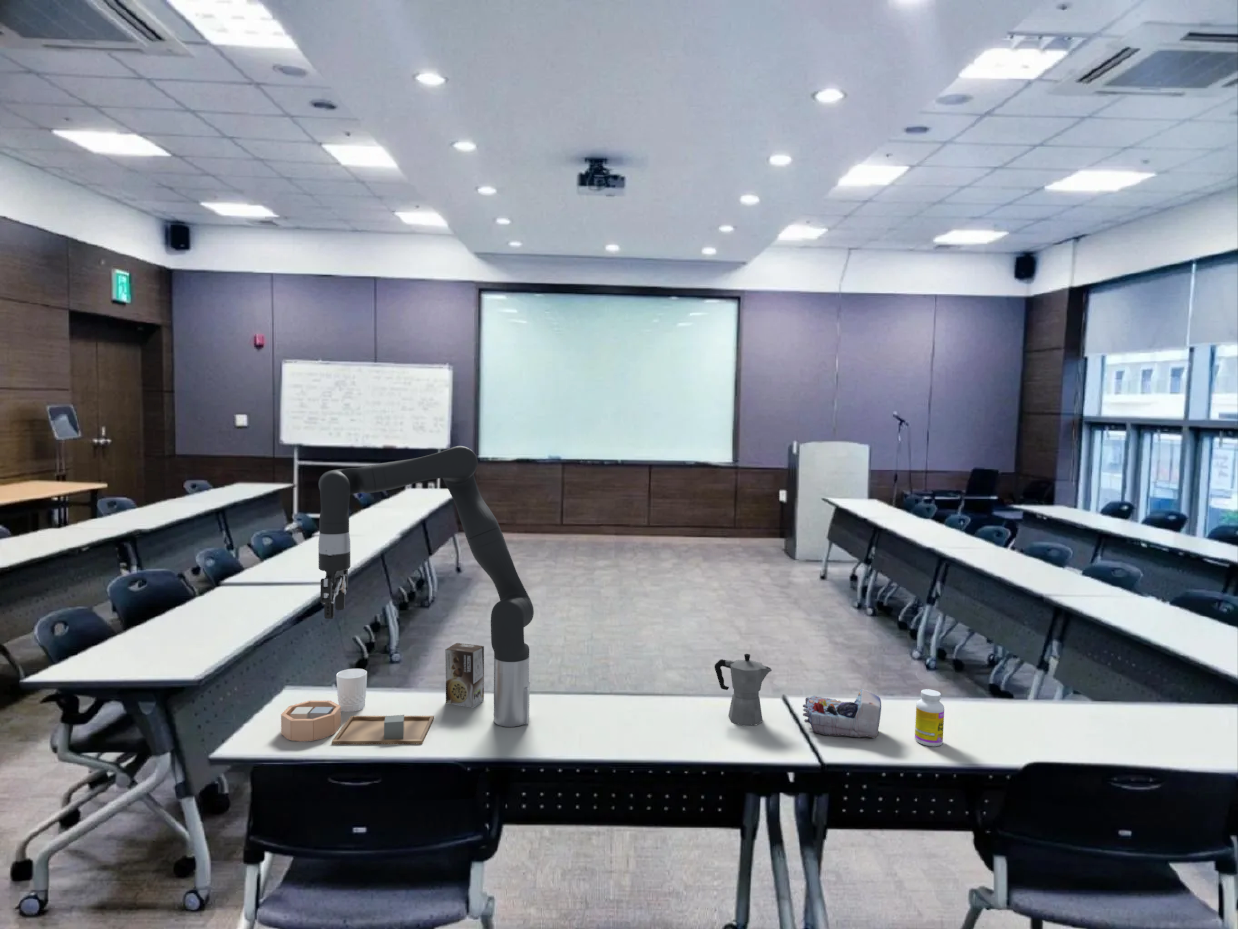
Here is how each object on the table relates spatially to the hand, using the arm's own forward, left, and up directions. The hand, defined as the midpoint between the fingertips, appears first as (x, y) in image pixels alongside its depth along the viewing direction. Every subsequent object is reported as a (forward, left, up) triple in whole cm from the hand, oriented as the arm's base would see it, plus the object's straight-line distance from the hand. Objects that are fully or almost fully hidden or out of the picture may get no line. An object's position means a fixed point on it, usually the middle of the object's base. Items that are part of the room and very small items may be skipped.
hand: (334, 613), depth 193 cm
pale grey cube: (+8, +2, -29) cm, 30 cm away
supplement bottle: (-151, +8, -30) cm, 154 cm away
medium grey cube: (-16, +5, -30) cm, 34 cm away
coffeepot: (-106, -7, -30) cm, 110 cm away
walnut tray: (-13, +2, -30) cm, 33 cm away
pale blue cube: (+3, +1, -29) cm, 29 cm away
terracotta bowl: (+6, +2, -30) cm, 31 cm away
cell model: (-131, +1, -30) cm, 134 cm away
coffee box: (-30, -18, -30) cm, 46 cm away
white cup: (0, -14, -30) cm, 33 cm away
